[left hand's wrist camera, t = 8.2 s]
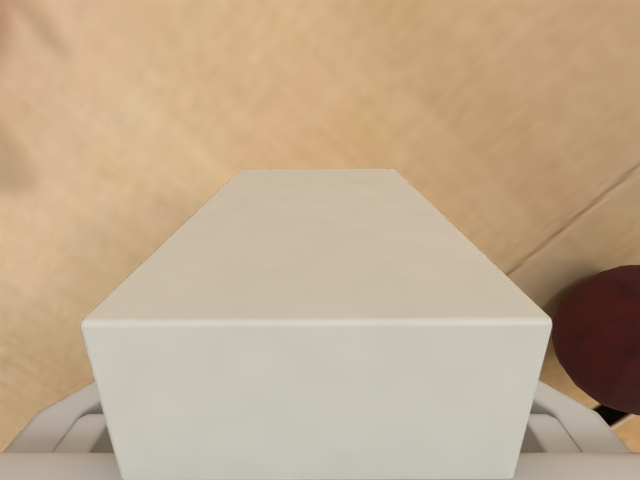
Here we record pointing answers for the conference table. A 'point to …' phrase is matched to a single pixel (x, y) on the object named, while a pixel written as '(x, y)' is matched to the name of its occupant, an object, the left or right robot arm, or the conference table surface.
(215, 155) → the conference table surface
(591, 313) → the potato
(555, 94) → the conference table surface
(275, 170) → the bar
